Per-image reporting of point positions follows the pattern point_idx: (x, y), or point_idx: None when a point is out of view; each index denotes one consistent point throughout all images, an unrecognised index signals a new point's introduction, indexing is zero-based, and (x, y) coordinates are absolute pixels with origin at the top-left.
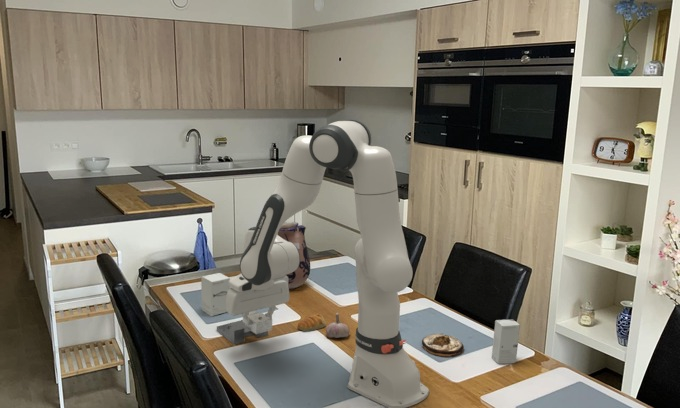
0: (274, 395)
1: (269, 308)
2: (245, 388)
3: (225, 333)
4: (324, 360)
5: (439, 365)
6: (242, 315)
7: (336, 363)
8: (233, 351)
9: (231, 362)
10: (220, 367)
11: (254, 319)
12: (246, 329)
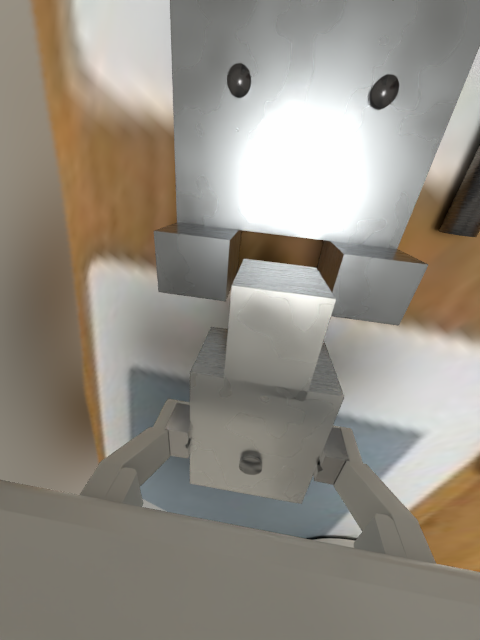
0: (153, 491)
1: (378, 504)
2: None
3: (175, 163)
4: (336, 492)
5: None
6: (117, 450)
7: (343, 510)
8: (159, 310)
9: (124, 361)
10: (85, 362)
11: (211, 452)
12: (305, 203)
